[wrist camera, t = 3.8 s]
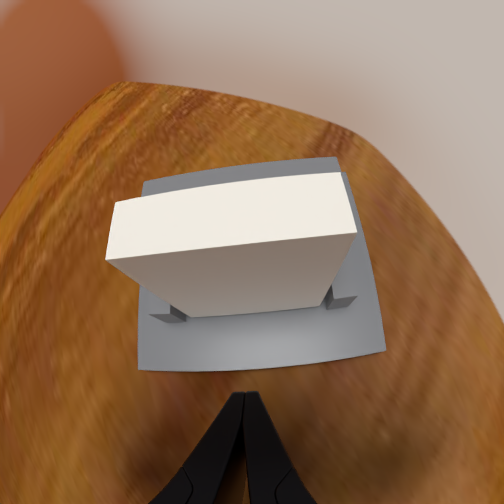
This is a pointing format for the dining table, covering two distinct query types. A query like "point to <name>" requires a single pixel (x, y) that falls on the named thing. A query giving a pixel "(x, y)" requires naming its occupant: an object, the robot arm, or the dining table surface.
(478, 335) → the dining table surface
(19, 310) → the dining table surface
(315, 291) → the key
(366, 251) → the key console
